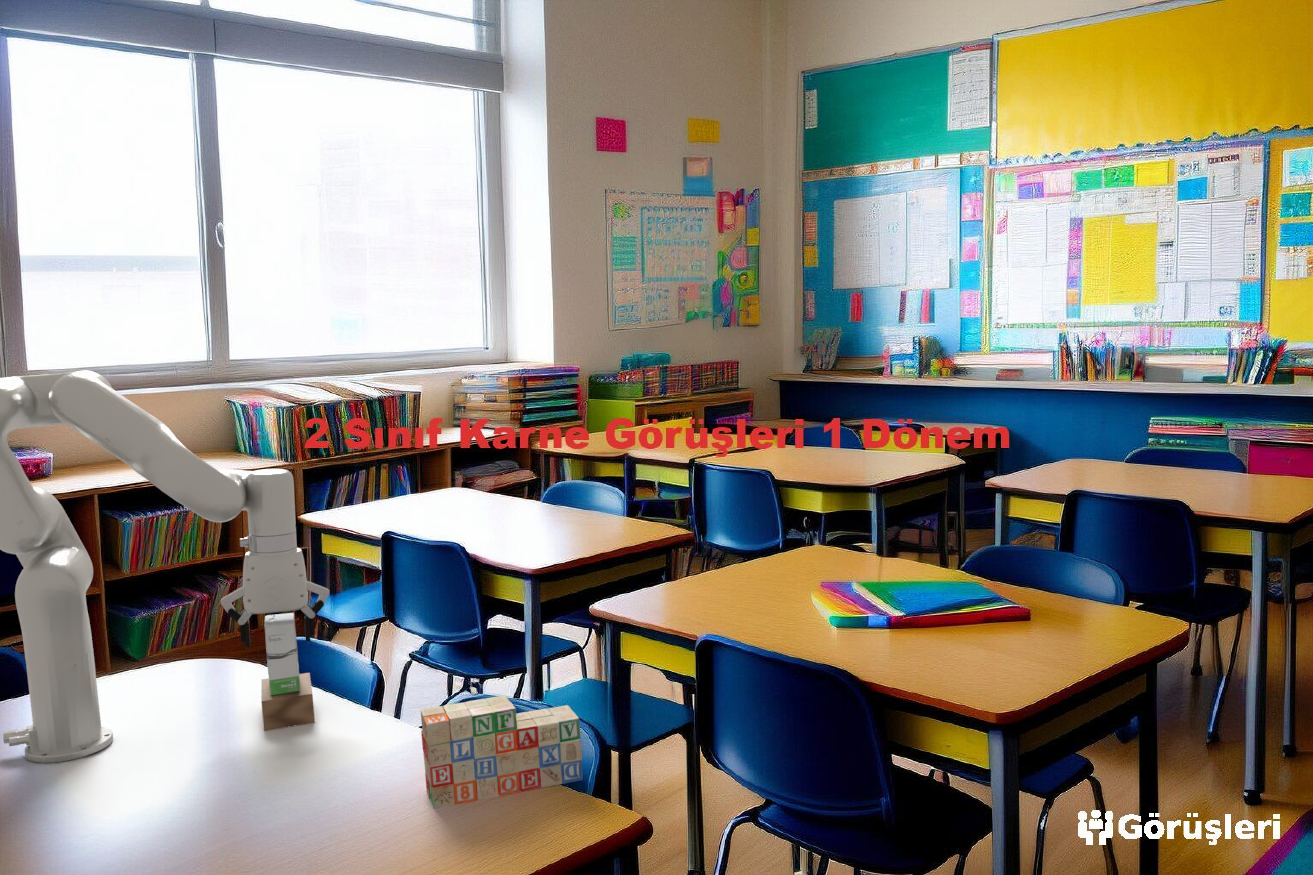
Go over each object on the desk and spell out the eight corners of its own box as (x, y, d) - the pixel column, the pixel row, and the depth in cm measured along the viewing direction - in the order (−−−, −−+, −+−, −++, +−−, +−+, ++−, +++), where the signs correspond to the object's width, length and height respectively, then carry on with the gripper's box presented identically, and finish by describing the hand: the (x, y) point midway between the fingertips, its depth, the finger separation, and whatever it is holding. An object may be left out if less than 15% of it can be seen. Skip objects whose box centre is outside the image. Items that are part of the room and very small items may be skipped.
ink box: (300, 692, 186) (295, 623, 185) (269, 696, 185) (263, 627, 183) (299, 676, 194) (294, 610, 193) (269, 680, 193) (264, 614, 191)
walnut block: (264, 730, 183) (261, 701, 183) (263, 707, 195) (261, 679, 194) (314, 722, 186) (312, 693, 185) (311, 699, 197) (309, 672, 197)
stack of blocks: (572, 765, 164) (567, 684, 163) (583, 781, 158) (579, 697, 157) (425, 791, 157) (419, 707, 156) (431, 809, 151) (425, 722, 150)
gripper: (216, 551, 180) (222, 654, 182) (328, 543, 186) (332, 643, 188) (218, 543, 187) (224, 642, 189) (325, 535, 193) (330, 631, 195)
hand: (278, 642), depth 188 cm, fingers open, 9 cm apart
